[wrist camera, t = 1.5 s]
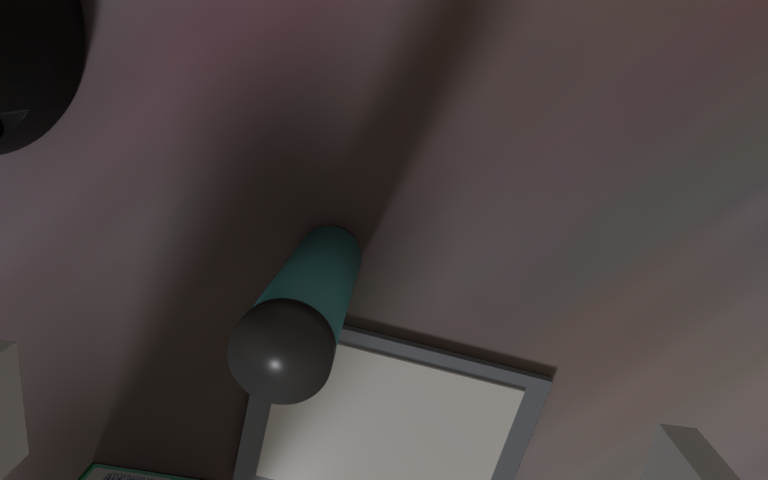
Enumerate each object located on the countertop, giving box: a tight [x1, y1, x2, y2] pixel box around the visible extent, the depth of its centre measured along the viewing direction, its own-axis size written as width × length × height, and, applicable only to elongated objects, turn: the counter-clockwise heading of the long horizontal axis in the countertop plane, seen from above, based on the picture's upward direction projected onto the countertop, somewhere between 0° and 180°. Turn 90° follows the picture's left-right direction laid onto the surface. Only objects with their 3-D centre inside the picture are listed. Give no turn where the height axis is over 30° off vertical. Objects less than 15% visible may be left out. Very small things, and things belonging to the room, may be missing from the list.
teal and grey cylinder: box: [226, 226, 361, 405], centre depth 23 cm, size 4×4×13 cm
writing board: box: [233, 324, 553, 480], centre depth 32 cm, size 18×13×1 cm
